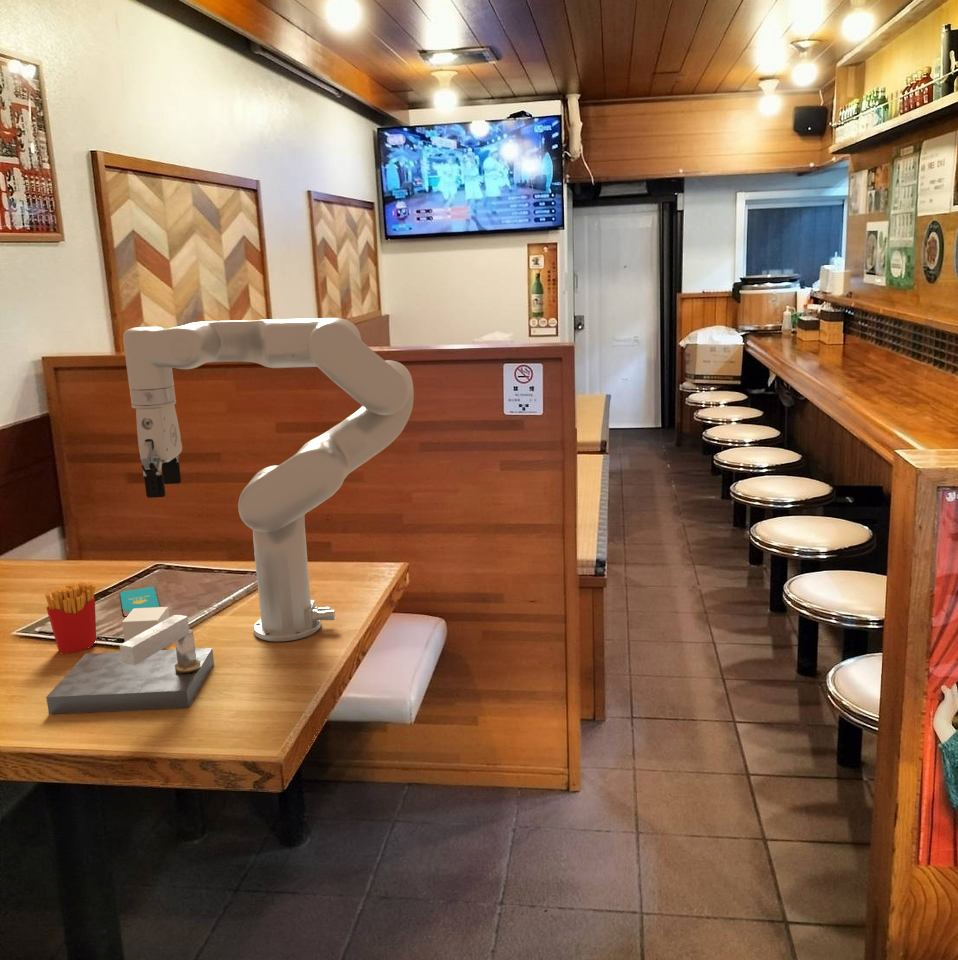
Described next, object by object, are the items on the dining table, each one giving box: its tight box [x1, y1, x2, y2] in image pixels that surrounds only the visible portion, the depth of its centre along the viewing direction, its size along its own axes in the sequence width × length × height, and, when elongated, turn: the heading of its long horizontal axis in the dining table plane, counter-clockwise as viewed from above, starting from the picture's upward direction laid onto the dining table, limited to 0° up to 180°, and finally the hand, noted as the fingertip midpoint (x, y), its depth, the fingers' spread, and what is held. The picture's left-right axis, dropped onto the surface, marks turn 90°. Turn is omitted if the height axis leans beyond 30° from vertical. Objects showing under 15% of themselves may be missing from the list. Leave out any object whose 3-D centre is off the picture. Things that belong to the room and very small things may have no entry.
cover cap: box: [121, 606, 170, 642], centre depth 169 cm, size 6×6×6 cm
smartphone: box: [119, 586, 161, 613], centre depth 191 cm, size 7×1×15 cm
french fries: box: [44, 581, 97, 654], centre depth 168 cm, size 8×4×12 cm, turn 129°
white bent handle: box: [119, 614, 200, 673], centre depth 146 cm, size 14×4×9 cm, turn 157°
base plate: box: [45, 647, 215, 715], centre depth 152 cm, size 22×16×3 cm
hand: (164, 490), depth 167 cm, fingers open, 9 cm apart
